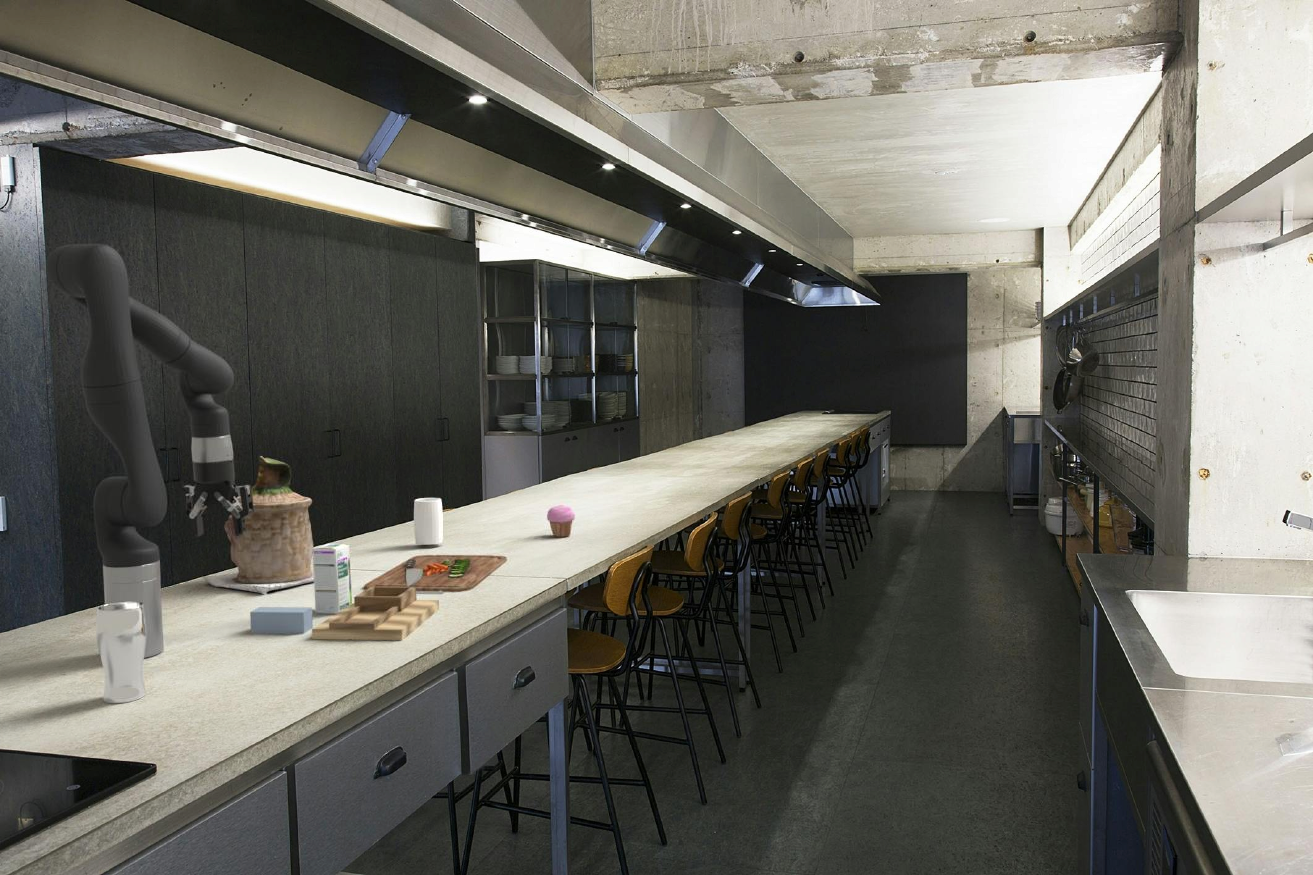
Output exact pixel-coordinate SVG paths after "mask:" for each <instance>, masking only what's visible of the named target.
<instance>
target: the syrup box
mask: <svg viewBox="0 0 1313 875" xmlns="http://www.w3.org/2000/svg"><path fill="white" fill-rule="evenodd" d="M312 551H313V554H312V563H313V564H312V568H313V571H314V582H313V587H314V607H315V609H314V610H315V613H316V614H322V615H324V614H325V615H335V614H337V613H338V612H340V611H342V610H343V609H345V608H346V607H348V606H350V605H351V604H353V599H352V597H353V596H352V595H353V594H352V573H351V556H350V555H351V554H350V545H349V544H348V543H342V542H341V543H338V542H336V543H326V544H324V545H320V546H318V547H317V546H316V547H313V549H312Z"/></svg>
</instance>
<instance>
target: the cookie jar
mask: <svg viewBox="0 0 1313 875" xmlns="http://www.w3.org/2000/svg"><path fill="white" fill-rule="evenodd" d="M257 460H258V461H259V466H258V472H257V479H256V484H255V485H253V486H251V490H252V498H253V505H254V512H253V513H251V514H249V515H247V516H245V525H246V531H245V532H244V534H243V535H241V536H235V526H234V519H235V517H234V515H233V514H230V515H229V516H228V520H227V521H226V522H225V523H224V530H225V532H226V535H227V538H228V540H229V541H230V544H231V545H230V558H231V562H233V563H234V564H235V565H236V568H237V571H234V572H231V573H225V574H219V575H218V574H217V575H211V576H210V575H207V576H201V579H203V580H204V581H205V582H208V583H209V584H210V585H212V586H213V587H219V588H220V587H222V588H227V589H235V590H243V591H249V592H254V593H260V594H262V595H263V596H266V595H268V592H271V591H274V590H279V589H280V590H281V589H285V588H290V587H295V586H300V585H303V584H309V583H314V571H313V567H311V564H312V560H313V551H312V549H314V542H313V533H312V527H311V526H312V525H311V521H310V514H309V508H310V506H311V505H312V503H313V500H312V498H310V497H306V496H302V495H300V494H298V493H296V492H294V491H293V490H292V489H291V488H290V485H291V479H292V470H291V467H290V465H289V464H288V463H285V462H283V461H279V460H277V459H274V458H273V459H272V458H269V457H265V458H264V457H263V456H262V455H260V456H259V457H258V459H257ZM235 498H236V499H237V500H238V501H239V503H240V506H241V507H242V503H241V497H240V496H237V497H235Z"/></svg>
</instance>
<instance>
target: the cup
mask: <svg viewBox="0 0 1313 875" xmlns="http://www.w3.org/2000/svg"><path fill="white" fill-rule="evenodd" d="M413 502H414V504H413V506H414V507H413V527H414V528H413V529H414V540H415V544H416V545H437V544H441V543H443V534H444V521H443V520H444V517H443V516H444V515H443V514H444V513H443V502H442V498H440V497H424V498H422V497H421V498H417V499H414V500H413Z"/></svg>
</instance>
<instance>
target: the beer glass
mask: <svg viewBox="0 0 1313 875" xmlns="http://www.w3.org/2000/svg"><path fill="white" fill-rule="evenodd" d="M95 628H96V644H97V648H98V653H99V656H100V661H101V664H102V669H103V672H104V691H103V697H102V701H103V702H104V703H107V704H113V705H114V704H125V703H129V702H130V703H131V702H134V701H138V700H140V699H142V698H145V696H146V694H147V689H146V686H145V682H144V681H145V680H144V676H143V666H144V659H145V658H144V653H145V646H146V619H145V612H144V603H143V602H139V601H123V602H115V603H110V604H105V603H104V604H103V605H100V606H97V608H96V627H95Z"/></svg>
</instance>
